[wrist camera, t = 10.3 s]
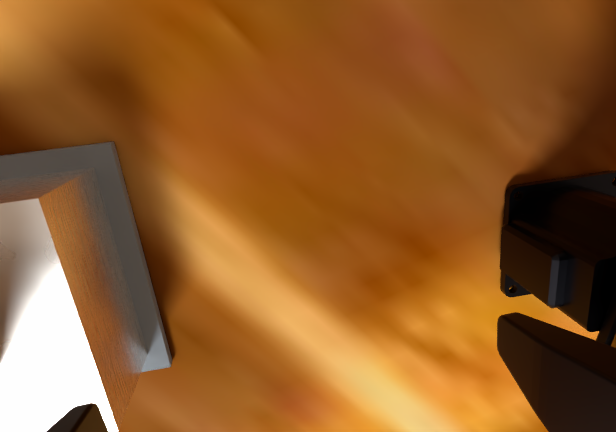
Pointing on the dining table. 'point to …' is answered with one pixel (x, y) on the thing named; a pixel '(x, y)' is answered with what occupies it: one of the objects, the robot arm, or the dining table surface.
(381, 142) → the dining table surface
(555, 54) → the dining table surface
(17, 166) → the mat
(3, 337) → the cover
